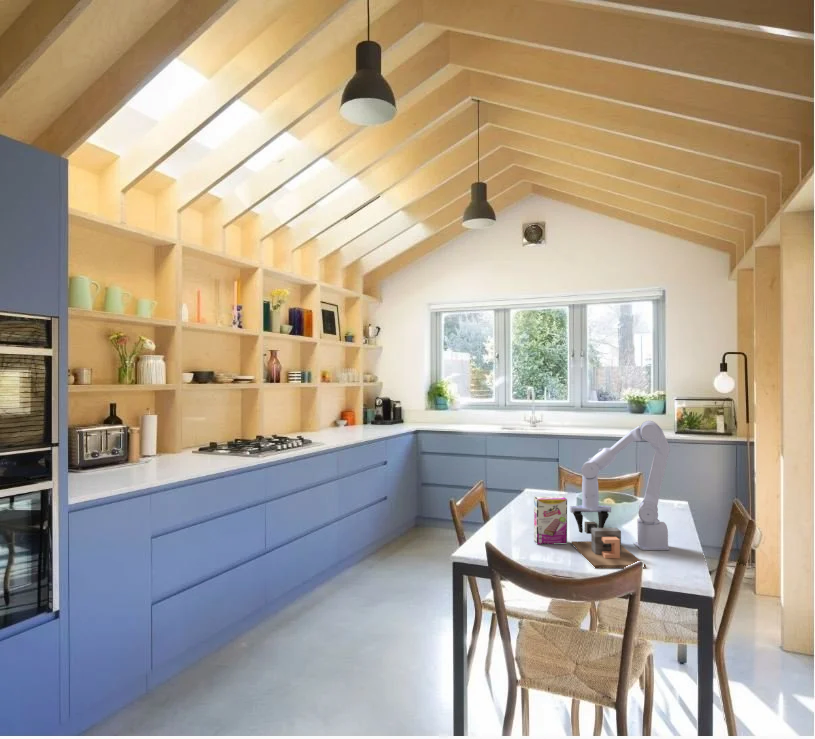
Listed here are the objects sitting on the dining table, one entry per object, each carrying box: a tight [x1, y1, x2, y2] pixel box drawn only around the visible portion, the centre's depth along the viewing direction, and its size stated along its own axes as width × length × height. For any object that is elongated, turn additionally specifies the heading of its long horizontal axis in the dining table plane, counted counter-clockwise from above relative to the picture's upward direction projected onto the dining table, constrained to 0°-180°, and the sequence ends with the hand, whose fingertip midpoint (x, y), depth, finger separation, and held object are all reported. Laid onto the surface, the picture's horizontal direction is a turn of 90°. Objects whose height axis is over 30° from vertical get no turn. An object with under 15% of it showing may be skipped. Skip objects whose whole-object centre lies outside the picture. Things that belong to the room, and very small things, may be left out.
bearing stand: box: [571, 527, 647, 569], centre depth 193 cm, size 16×26×9 cm, turn 0°
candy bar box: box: [533, 496, 568, 545], centre depth 208 cm, size 11×5×16 cm, turn 92°
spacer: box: [601, 537, 620, 558], centre depth 189 cm, size 6×4×5 cm
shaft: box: [584, 521, 604, 543], centre depth 203 cm, size 4×17×4 cm, turn 0°
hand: (590, 532), depth 210 cm, fingers open, 7 cm apart
